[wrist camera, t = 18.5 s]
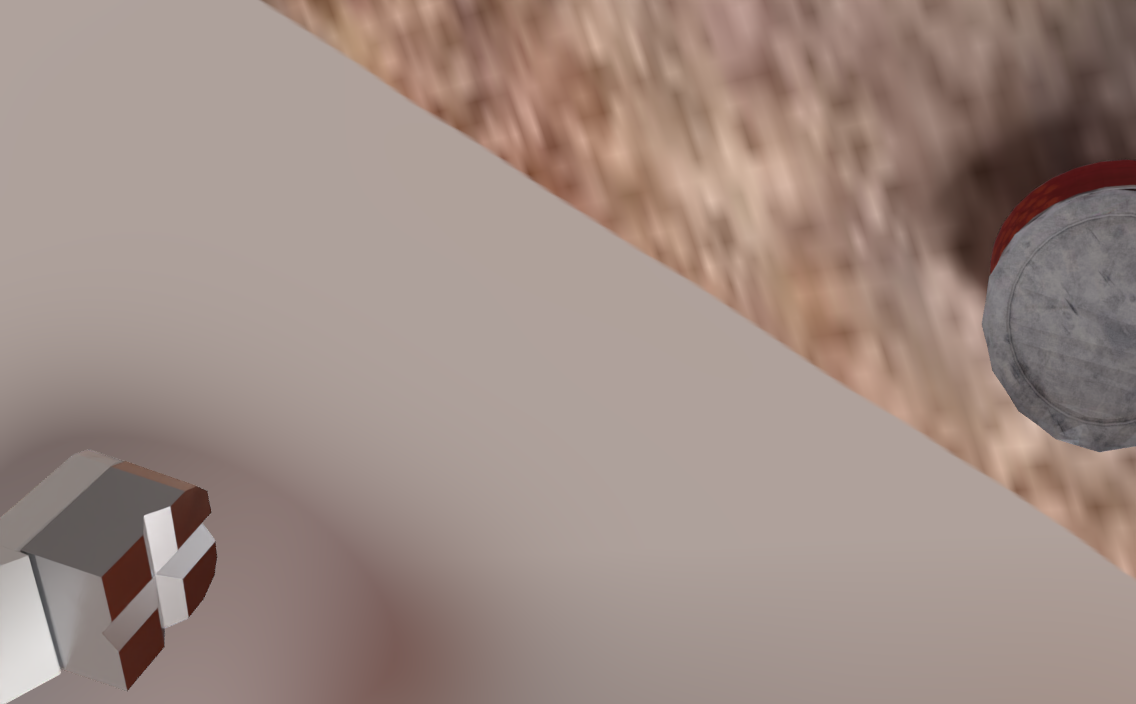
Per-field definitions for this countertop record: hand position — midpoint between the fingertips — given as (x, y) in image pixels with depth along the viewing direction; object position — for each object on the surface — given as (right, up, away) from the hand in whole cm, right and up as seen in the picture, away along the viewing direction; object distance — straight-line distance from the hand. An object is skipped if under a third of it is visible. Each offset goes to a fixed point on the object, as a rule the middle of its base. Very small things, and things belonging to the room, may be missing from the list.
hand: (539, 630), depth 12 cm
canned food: (+24, +7, +36) cm, 44 cm away
